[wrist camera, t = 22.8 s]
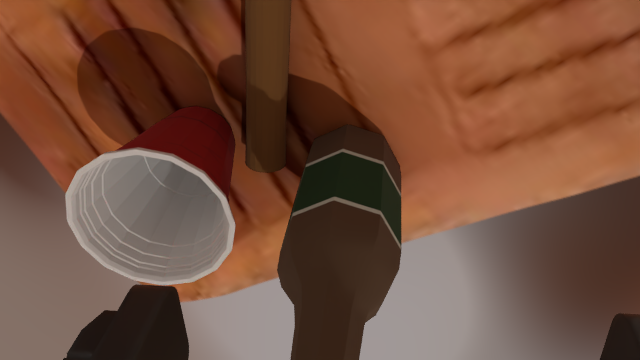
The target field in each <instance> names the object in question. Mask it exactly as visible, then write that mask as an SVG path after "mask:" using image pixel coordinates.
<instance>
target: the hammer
mask: <svg viewBox="0 0 640 360" xmlns="http://www.w3.org/2000/svg"><path fill="white" fill-rule="evenodd" d="M290 20H291V0H245V30H246V161H245V163H246V165H247V166H248V167H249V168H250V169H252V170H254V171H258V172H267V173H268V172H275V171H278V170H280V169H282V168H283V167H284V166H285V165H286V112H287V89H288V66H289V43H290Z"/></svg>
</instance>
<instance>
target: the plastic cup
mask: <svg viewBox="0 0 640 360" xmlns="http://www.w3.org/2000/svg"><path fill="white" fill-rule="evenodd" d="M234 151H235V139H234V136H233V133H232V129H231V127H230V126H229V125H228V123H227V122H226V121H225V120H224V118H223V117H222V116H220V115H219V114H217V113H215V112H214V111H212V110H211V109H207V108H203V107H199V106H193V107H186V108H182V109H179V110H177V111H176V112H174V113H172V114H171V115H169V116H168V117H166V118H164V119H162V120H161V121H159V122H158V123H156V124H155V125H153V126H151V127H150V128H149V129H147V130H146V131H144V132H143V133H142V134H140V135H139V136H137V137H136V138H135V139H133V140H132V141H130V142H129V143H127V144H126V145H124V146H122V147H121V148H119V149H117V150H116V151H111V152H106V153H104V154H102V155H101V156H99V157H98V158H96V159H95V160H93V161H92V162H90V163H89V164H87V165H85V166H84V167H82V168H81V169H79V170H78V171H77V173H76V175H75V177H74V178H73V180H72V182H71V184H70V186H69V188H68V190H67V192H66V194H65V195H66V211H67V222H68V223H69V225H70V227H71V229H72V231H73V232H74V234H75V236H76V238H77V240H78V241H79V243H80V245H81V246H82V247H83V248H84V249H85V250H86V251H87V252H88V253H90V254H91V255H92V256H93V257H94V258H95V259H96V260H97V261H98V262H100V263H101V264H102V265H103V266H104V267H107V268H109V269H110V270H113V271H115V272H117V273H119V274H121V275H123V276H125V277H127V278H130V279H132V280H135V281H141V282H147V283H153V284H158V285H171V284H180V283H188V282H194V281H196V280H198V279H200V278H201V277H203V276H205V275H207V274H209V273H211V272H213V271H215V270H217V269H218V267H219V266H220V265H221V264H222V262H223V261H224V260H225V258H226V257H227V256H228V254H229V253H230V252H231V251H232V245H233V239H234V232H235V221H234V218H233V215H232V212H231V209H230V206H229V198H228V195H229V189H230V182H231V174H232V167H233V158H234Z"/></svg>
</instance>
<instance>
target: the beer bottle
mask: <svg viewBox="0 0 640 360" xmlns="http://www.w3.org/2000/svg"><path fill="white" fill-rule="evenodd" d="M400 257H401V172H400V165H399V163H398V162H397V160H396V158H395V156H394V154H393V152H392V150H391V148H390V147H389V145H388V143H387V141H386V139H385V137H384V136H383V135H380V134H377V133H374V132H370V131H367V130H364V129H361V128H358V127H355V126H352V125H345V126H343V127H341V128H338V129H336V130H334V131H332V132H329V133H327V134H325V135H322V136H320V137H318V138H316V139H314V142H313V144H312V147H311V149H310V152H309V155H308V158H307V162H306V165H305V168H304V171H303V174H302V177H301V180H300V184H299V187H298V191H297V194H296V198H295V201H294V205H293V208H292V212H291V216H290V219H289V223H288V226H287V230H286V233H285V237H284V240H283V244H282V248H281V251H280V257H279V263H278V269H277V271H278V275H279V279H280V283H281V287H282V288H283V290H284V291H285V293H286V294H287V295H288V297H289V299H290V300H291V301H292V303H293V304H294V310H295V330H294V337H293V344H292V352H291V360H359V355H360V349H361V343H362V336H363V330H364V325H365V322H367V321H368V320H370V319H371V318H372V317H374V316H375V315H376V313H377V312H378V310H379V308H380V306H381V305H382V303H383V301H384V299H385V297H386V295H387V293H388V291H389V289H390V286H391V285H392V282H393V280H394V278H395V276H396V274H397V272H398V270H399V265H400Z"/></svg>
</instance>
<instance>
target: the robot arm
mask: <svg viewBox="0 0 640 360" xmlns="http://www.w3.org/2000/svg"><path fill="white" fill-rule="evenodd" d="M188 356H189V343H188V338H187V333H186V328H185V324H184V319H183V314H182V310H181V305H180V300H179V296H178V292H177V290H176V288H175V287H172V286H154V285H134V286H133V287H132V288H131V289H130V291H129V292H128V294H127V295H126V297H125V299H124V300H123V302H122V304H121V306H120V307H119V309H118V311H108V310H105V311H103V313H101V314H100V315H99V316H98V317H96V318H95V319H94V320H93V321H92V322H91V323H89V324H88V325H87V326H86V327H85V328H83V329H82V330H81V332H80V334H79V335H78V337H77V338H76V340H75V342H74V343H73V345H72V347H71V348H70V350H69V351H68V353H67V358H64V359H63V360H188ZM600 360H640V315H638V314H617V315H616V316H615V317H614V319H613V321H612V324H611V327H610V330H609V333H608V336H607V339H606V342H605V345H604V348H603V352H602V355H601V358H600Z"/></svg>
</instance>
